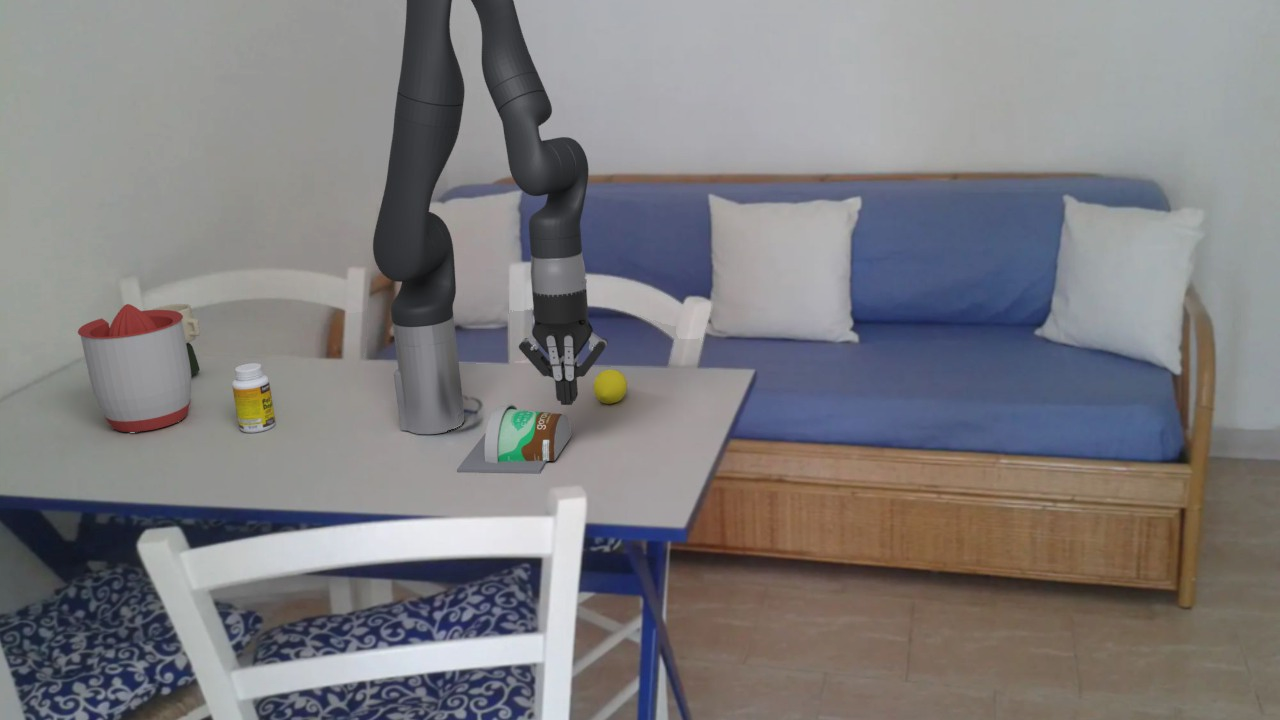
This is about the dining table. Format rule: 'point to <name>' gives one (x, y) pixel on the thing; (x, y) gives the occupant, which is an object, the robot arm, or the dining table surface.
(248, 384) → the supplement bottle
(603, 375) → the lemon
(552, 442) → the food container
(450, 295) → the robot arm
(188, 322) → the character mug
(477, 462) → the charcoal mat
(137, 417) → the citrus juicer
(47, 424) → the dining table surface
